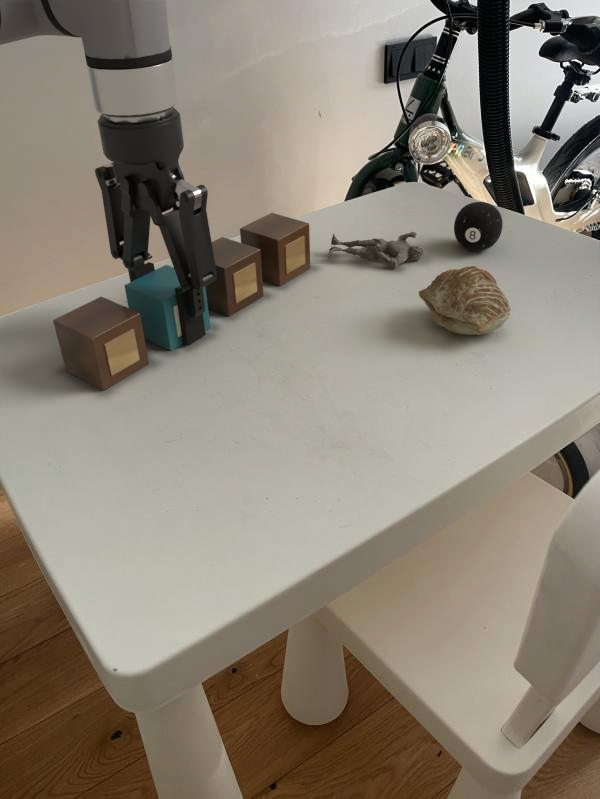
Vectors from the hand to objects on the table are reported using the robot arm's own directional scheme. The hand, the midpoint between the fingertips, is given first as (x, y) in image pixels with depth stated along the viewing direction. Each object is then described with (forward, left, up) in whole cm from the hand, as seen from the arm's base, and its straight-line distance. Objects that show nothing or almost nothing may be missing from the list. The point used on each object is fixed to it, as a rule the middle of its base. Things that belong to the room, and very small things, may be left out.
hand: (172, 329), depth 81 cm
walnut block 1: (0, -9, 0) cm, 9 cm away
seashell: (+25, +19, 0) cm, 31 cm away
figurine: (+8, +28, 0) cm, 29 cm away
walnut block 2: (0, +9, 0) cm, 9 cm away
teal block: (0, 0, 0) cm, 0 cm away
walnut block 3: (0, +18, 0) cm, 18 cm away
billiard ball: (+17, +38, 0) cm, 42 cm away
